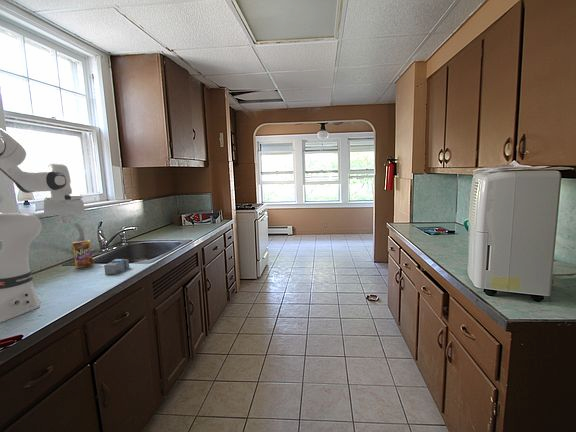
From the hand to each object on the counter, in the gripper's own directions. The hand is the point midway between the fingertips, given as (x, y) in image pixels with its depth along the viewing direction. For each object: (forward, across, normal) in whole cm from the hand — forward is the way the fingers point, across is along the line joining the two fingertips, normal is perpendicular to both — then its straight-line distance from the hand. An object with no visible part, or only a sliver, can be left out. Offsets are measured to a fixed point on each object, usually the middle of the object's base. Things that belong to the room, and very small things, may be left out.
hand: (66, 223), depth 163 cm
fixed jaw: (+29, +17, +16) cm, 37 cm away
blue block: (+29, +17, +13) cm, 36 cm away
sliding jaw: (+29, +17, +8) cm, 35 cm away
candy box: (+29, -10, +20) cm, 37 cm away
